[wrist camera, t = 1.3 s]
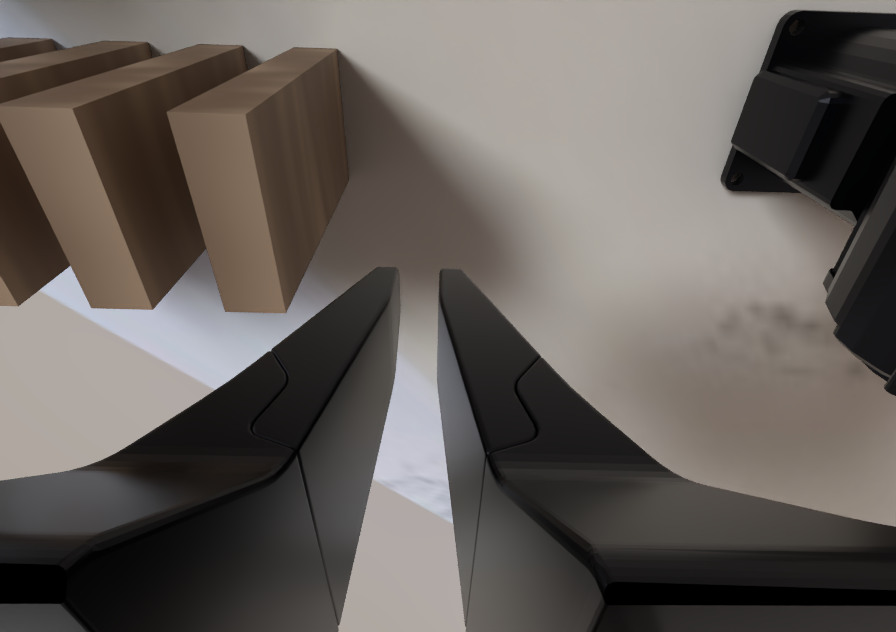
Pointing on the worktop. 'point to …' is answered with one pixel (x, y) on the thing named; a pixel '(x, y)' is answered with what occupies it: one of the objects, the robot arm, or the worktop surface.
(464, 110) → the worktop surface
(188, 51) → the domino
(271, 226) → the domino
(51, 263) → the domino
